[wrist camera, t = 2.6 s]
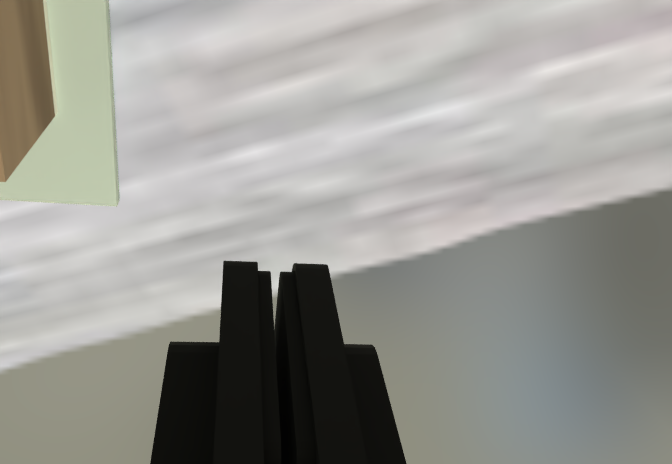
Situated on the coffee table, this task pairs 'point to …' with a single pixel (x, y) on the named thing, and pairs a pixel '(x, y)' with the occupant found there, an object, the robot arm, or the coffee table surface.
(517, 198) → the coffee table surface
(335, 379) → the robot arm
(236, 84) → the coffee table surface
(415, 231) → the coffee table surface
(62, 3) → the rubber mat
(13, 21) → the walnut cube
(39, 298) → the coffee table surface
